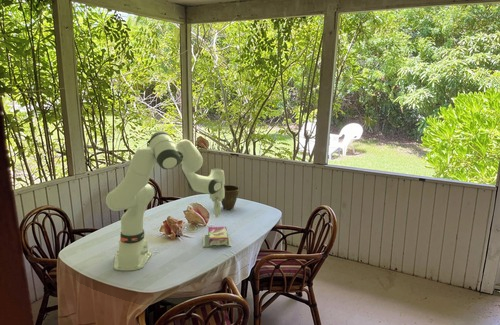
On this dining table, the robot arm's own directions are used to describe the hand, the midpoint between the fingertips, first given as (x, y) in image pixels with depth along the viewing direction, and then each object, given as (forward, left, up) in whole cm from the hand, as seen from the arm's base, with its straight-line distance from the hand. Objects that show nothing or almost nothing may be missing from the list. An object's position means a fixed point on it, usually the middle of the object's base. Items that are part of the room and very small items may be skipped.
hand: (216, 216), depth 212 cm
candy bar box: (+3, 0, -10) cm, 11 cm away
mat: (-6, 0, -13) cm, 14 cm away
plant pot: (+49, -10, -13) cm, 52 cm away
